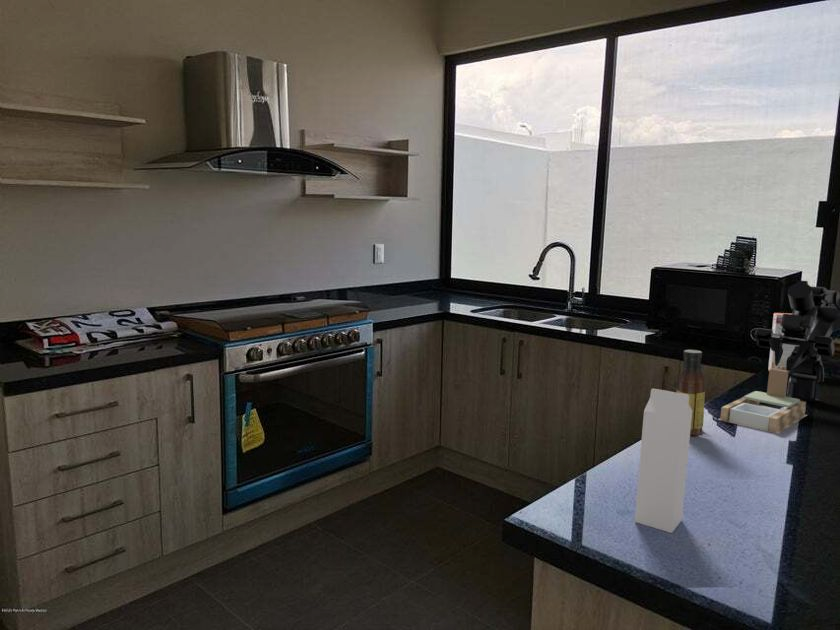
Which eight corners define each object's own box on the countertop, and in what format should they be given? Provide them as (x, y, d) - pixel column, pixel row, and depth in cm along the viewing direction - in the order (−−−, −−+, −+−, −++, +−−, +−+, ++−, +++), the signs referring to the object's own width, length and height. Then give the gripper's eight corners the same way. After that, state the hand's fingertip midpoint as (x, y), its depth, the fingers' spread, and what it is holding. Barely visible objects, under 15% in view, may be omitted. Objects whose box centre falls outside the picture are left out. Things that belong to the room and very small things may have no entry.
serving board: (750, 406, 177) (752, 391, 177) (807, 417, 167) (809, 402, 167) (717, 422, 161) (718, 406, 160) (777, 436, 151) (779, 419, 150)
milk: (645, 510, 109) (656, 384, 106) (682, 520, 105) (694, 391, 102) (634, 522, 104) (644, 391, 101) (672, 534, 100) (684, 398, 97)
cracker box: (812, 374, 221) (819, 314, 218) (816, 378, 215) (824, 317, 213) (767, 370, 226) (773, 311, 223) (770, 373, 220) (777, 313, 217)
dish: (742, 414, 166) (743, 402, 165) (780, 422, 159) (781, 410, 159) (729, 421, 159) (730, 408, 159) (768, 430, 153) (769, 417, 153)
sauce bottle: (697, 429, 155) (704, 349, 152) (706, 437, 148) (714, 354, 146) (669, 427, 155) (676, 347, 152) (677, 435, 149) (684, 352, 146)
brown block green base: (755, 393, 174) (758, 365, 173) (799, 401, 166) (803, 373, 165) (743, 398, 168) (746, 370, 166) (788, 407, 160) (792, 378, 159)
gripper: (760, 299, 179) (741, 342, 173) (837, 307, 166) (820, 353, 160) (766, 324, 185) (749, 366, 179) (841, 333, 172) (825, 379, 166)
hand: (784, 366), depth 171 cm, fingers open, 4 cm apart
